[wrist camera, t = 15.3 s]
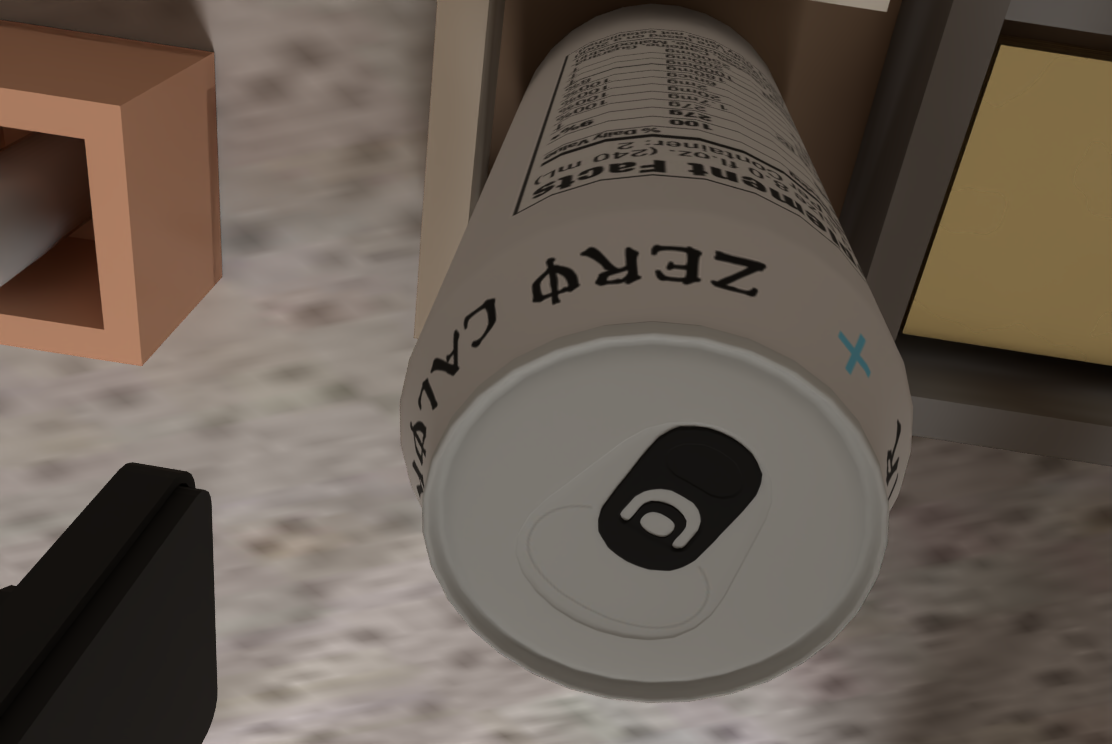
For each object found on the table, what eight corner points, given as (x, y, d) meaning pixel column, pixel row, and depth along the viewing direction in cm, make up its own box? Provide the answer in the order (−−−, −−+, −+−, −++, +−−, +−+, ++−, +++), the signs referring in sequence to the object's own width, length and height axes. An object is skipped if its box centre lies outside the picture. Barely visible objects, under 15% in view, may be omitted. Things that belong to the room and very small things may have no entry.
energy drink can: (474, 168, 24) (273, 588, 11) (612, -61, 22) (556, 142, 9) (681, 295, 25) (715, 809, 12) (836, 93, 23) (1087, 479, 10)
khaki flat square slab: (1288, 78, 21) (1326, 94, 20) (1156, 348, 25) (1182, 376, 24) (981, 30, 21) (1000, 44, 20) (889, 307, 25) (901, 333, 24)
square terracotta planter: (214, 52, 24) (22, 161, 17) (222, 276, 27) (62, 454, 20) (-31, 14, 24) (-330, 107, 17) (4, 243, 27) (-238, 407, 20)
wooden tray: (1391, -1, 22) (1553, 42, 18) (1187, 391, 27) (1280, 492, 23) (478, -140, 22) (441, -128, 18) (443, 277, 27) (408, 357, 23)
